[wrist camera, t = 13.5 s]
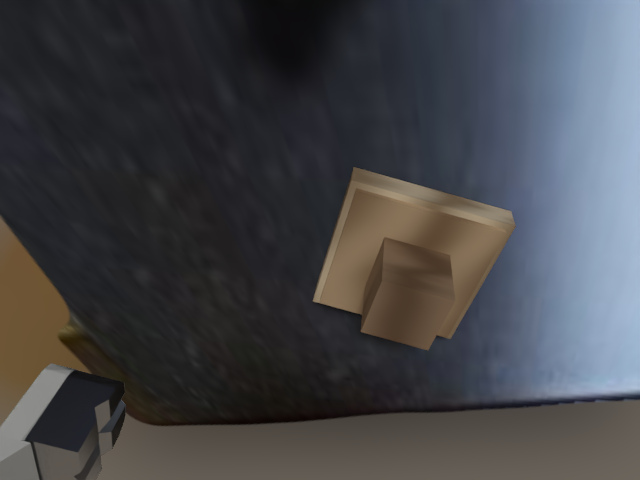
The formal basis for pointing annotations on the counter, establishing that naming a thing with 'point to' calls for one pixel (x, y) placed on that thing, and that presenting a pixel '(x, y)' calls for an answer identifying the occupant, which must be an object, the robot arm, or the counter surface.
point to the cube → (407, 294)
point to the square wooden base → (410, 239)
